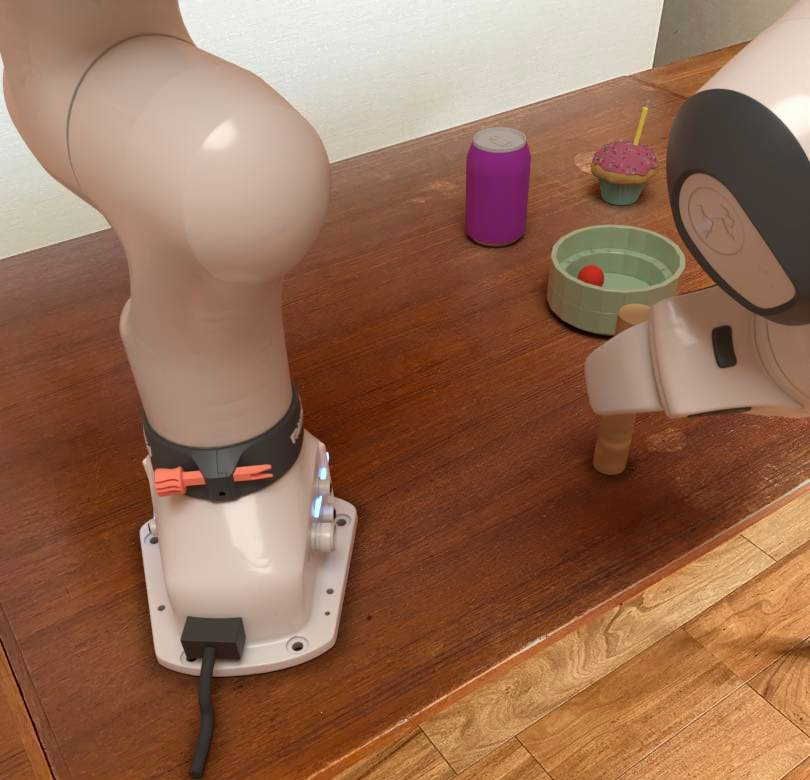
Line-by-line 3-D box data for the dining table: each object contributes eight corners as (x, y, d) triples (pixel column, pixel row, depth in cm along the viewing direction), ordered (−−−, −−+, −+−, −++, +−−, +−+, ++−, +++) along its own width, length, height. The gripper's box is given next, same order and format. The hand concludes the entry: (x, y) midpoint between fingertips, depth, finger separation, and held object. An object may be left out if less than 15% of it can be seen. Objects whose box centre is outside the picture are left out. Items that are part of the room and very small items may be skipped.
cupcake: (629, 178, 119) (644, 85, 110) (665, 204, 114) (684, 109, 105) (575, 191, 117) (585, 98, 108) (608, 218, 111) (623, 122, 103)
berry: (605, 296, 98) (609, 272, 95) (579, 299, 97) (582, 275, 95) (598, 282, 100) (602, 259, 97) (573, 285, 100) (575, 261, 97)
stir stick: (629, 473, 79) (662, 322, 67) (597, 476, 79) (624, 325, 67) (620, 452, 81) (650, 301, 69) (589, 455, 81) (614, 304, 69)
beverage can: (452, 233, 110) (453, 136, 101) (497, 214, 113) (502, 119, 104) (492, 256, 106) (496, 158, 97) (538, 236, 109) (546, 139, 100)
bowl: (691, 335, 93) (704, 285, 89) (562, 346, 93) (568, 297, 88) (652, 267, 103) (662, 219, 99) (535, 277, 102) (539, 229, 98)
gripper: (973, 249, 48) (822, 309, 62) (629, 304, 46) (551, 353, 60) (990, 361, 49) (836, 396, 62) (649, 422, 46) (567, 444, 60)
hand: (695, 375), depth 61 cm, fingers open, 8 cm apart
